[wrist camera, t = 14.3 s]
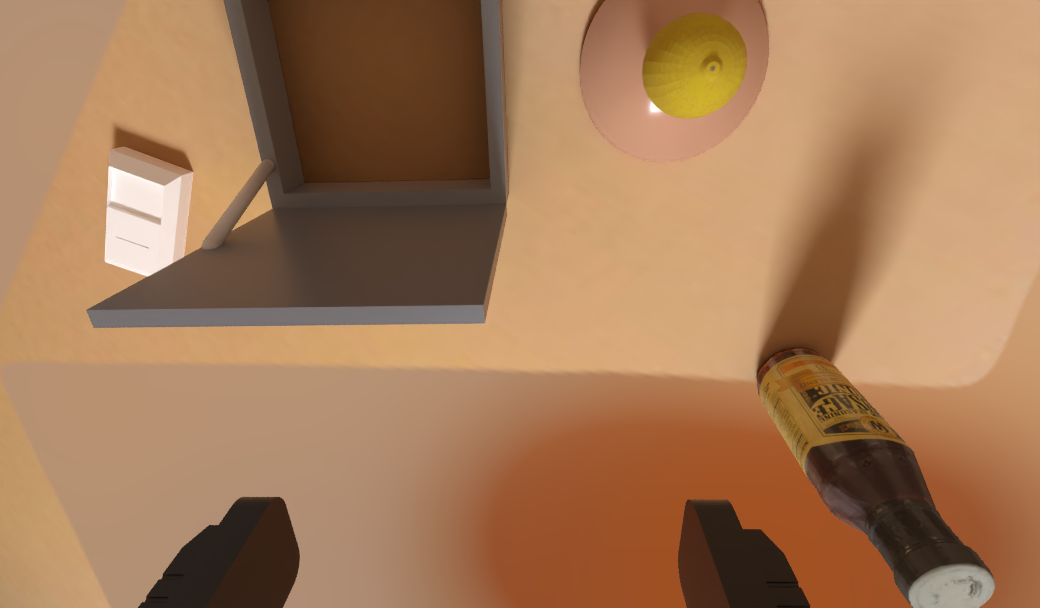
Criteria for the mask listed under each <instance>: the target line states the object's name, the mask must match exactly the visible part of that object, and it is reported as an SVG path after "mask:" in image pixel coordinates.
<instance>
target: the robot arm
mask: <svg viewBox="0 0 1040 608" xmlns="http://www.w3.org/2000/svg"><path fill="white" fill-rule="evenodd" d="M299 559H300V554H299V548H298V544H297V541H296V538H295V534H294V531H293V527H292V524H291V521H290V517H289V514H288V511H287V508H286V504H285V502H284V500H283V499H282V498H280V497H242V498H239V499H238V500H237V501H236V502H235V503H234V504H233V505H232V507H231V508H230V509H229V511H228V513H227V514H226V515H225V517H224V518H223V520H222V521H221V522H220V524H219V525H209V526H208V527H206V529H204V530H203V531H202V532H201V533H199V534H198V535H197V536H196V537H194V538H193V539H192V540H191V541H190V542H189V543H187V544H186V545H185V546H184V547H183V548H182V549H181V550H180V552H179V553H178V554H177V556H176V557H175V558H174V560H173V561H172V562H171V564H170V565H169V566H168V568H167V569H166V570H165V572H164V573H163V577H162V579H161V580H158V581H157V583H156V584H155V585H154V587H153V588H152V589H151V591H150V592H149V594H148V595H147V597H146V601H145V602H142V603H141V604H140V606H139V607H138V608H283V606H284V604H285V602H286V600H287V598H288V595H289V593H290V591H291V589H292V587H293V585H294V582H295V580H296V577H297V573H298V568H299ZM678 568H679V577H680V583H681V587H682V591H683V595H684V598H685V602H686V606H687V608H810V604H809V602H808V601H807V599H806V597H805V595H804V593H803V591H802V589H801V588H799V586H798V581H797V579H796V577H795V575H794V573H793V571H792V569H791V567H790V565H789V563H788V561H787V559H786V557H785V555H784V553H783V552H782V551H781V550H780V549H779V548H778V547H777V546H776V545H775V544H774V543H773V542H772V541H771V540H770V539H769V538H768V537H767V536H766V535H765V534H764V533H763V532H762V531H761V530H760V529H759V530H758V529H748V530H747V529H742V527H741V524H740V522H739V520H738V517H737V515H736V513H735V511H734V509H733V506H732V505H731V503H730V502H729V501H728V500H687V502H686V505H685V510H684V517H683V524H682V531H681V539H680V545H679V553H678Z"/></svg>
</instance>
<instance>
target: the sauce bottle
mask: <svg viewBox="0 0 1040 608" xmlns="http://www.w3.org/2000/svg"><path fill="white" fill-rule="evenodd" d="M757 388H758V393H759V396H760V398H761V401H762V403H763V404H764V406H765V408H766V410H767V411H768V413H769V415H770V416H771V418H772V420H773V421H774V423H775V425H776V426H777V428H778V430H779V431H780V433H781V434H782V436H783V438H784V439H785V441H786V443H787V444H788V446H789V448H790V449H791V451H792V453H793V454H794V456H795V458H796V459H797V461H798V463H799V464H800V466H801V468H802V469H803V471H804V473H805V474H806V476H807V478H808V479H809V480H810V482H811V483H812V484H813V485H814V486H815V488H816V489H817V491H818V492H819V494H820V496H821V498H822V500H823V502H824V503H825V504H826V506H827V507H828V508H829V510H830V512H831V513H833V514H834V515H835V516H836V517H838V518H839V519H840V520H841V521H843V522H845V523H846V524H848V525H850V526H852V527H853V528H856V529H858V530H860V531H862V532H864V533H865V534H867V535H868V538H869V540H870V541H871V542H872V544H873V545H874V546H875V547H876V548H877V549H878V550H879V552H880V553H881V555H882V556H883V558H884V559H885V561H886V562H887V564H888V565H889V567H890V568H891V570H892V571H893V573H894V579H895V583H896V585H897V586H898V588H899V590H900V591H901V593H902V594H903V595H904V597H905V598H906V599H907V601H908V602H909V604H910V605H911V606H912V607H913V608H979V607H980V606H982V605H983V604H984V603H985V602H986V601H987V600H988V599H989V598H990V597H991V596H992V594H993V591H994V588H995V581H994V578H993V576H992V573H991V572H990V570H989V568H988V567H987V566H986V565H985V564H984V562H983V561H982V560H981V559H980V557H979V556H978V554H977V553H976V552H974V551H973V550H972V549H971V548H969V547H968V546H965V545H964V544H963V543H962V542H961V541H960V540H959V538H958V537H957V536H956V535H955V534H954V533H953V532H952V530H951V529H950V528H949V526H947V525H946V523H945V522H944V521H943V519H942V518H941V516H940V514H939V513H938V511H937V510H936V508H935V505H934V503H933V500H932V498H931V495H930V493H929V490H928V488H927V485H926V482H925V480H924V477H923V475H922V472H921V470H920V467H919V465H918V463H917V460H916V457H915V455H914V452H913V451H912V450H911V448H910V447H909V446H908V445H907V444H906V443H905V441H904V440H903V439H902V438H901V437H900V436H899V435H898V434H897V433H896V432H895V431H894V430H893V429H892V428H891V427H890V425H889V424H888V423H887V422H886V421H885V420H884V419H883V417H882V416H881V415H880V414H879V413H878V412H877V411H876V410H875V409H874V408H873V407H872V406H871V405H870V403H869V402H868V401H867V400H866V399H865V398H864V397H863V396H862V395H861V394H860V393H859V391H858V390H857V389H856V388H855V387H854V386H853V385H852V384H851V383H850V382H849V381H848V380H847V378H846V377H845V376H844V375H843V374H842V373H841V372H840V371H839V370H838V369H837V368H836V366H835V365H834V364H832V363H831V362H830V361H828V360H827V359H825V358H824V357H822V356H821V355H819V354H818V353H817V352H815V351H813V350H809V349H806V348H804V349H801V348H798V349H791V350H787V351H781V352H778V353H776V354H775V355H773V356H772V357H771V358H770V359H769V361H767V362H766V363H765V364H764V365H763V366H762V367H761V369H760V371H759V373H758V378H757Z"/></svg>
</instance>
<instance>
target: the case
mask: <svg viewBox="0 0 1040 608" xmlns="http://www.w3.org/2000/svg"><path fill="white" fill-rule="evenodd" d="M224 4H225V8H226V12H227V17H228V21H229V25H230V29H231V34H232V38H233V42H234V46H235V51H236V55H237V59H238V63H239V68H240V72H241V76H242V80H243V85H244V89H245V93H246V97H247V102H248V106H249V110H250V114H251V119H252V123H253V127H254V131H255V136H256V140H257V144H258V148H259V153H260V157H261V161H262V162H261V163H260V165H259V166H258V168H257V169H256V170H255V172H254V173H253V174H252V176H251V177H250V178H249V180H248V181H247V183H246V184H245V185H244V187H243V188H242V189H241V191H240V192H239V193H238V195H237V196H236V197H235V199H234V200H233V202H232V203H231V204H230V206H229V207H228V208H227V210H226V211H225V212H224V214H223V215H222V217H221V218H220V219H219V221H218V222H217V223H216V225H215V226H214V227H213V229H212V230H211V231H210V233H209V234H208V236H207V237H206V238H205V240H204V241H203V242H202V248H200V249H198V250H196V251H194V252H192V253H190V254H189V255H187V256H185V257H183V258H181V259H179V260H178V261H176V262H174V263H172V264H170V265H168V266H167V267H165V268H163V269H161V270H159V271H157V272H155V273H154V274H152V275H150V276H148V277H146V278H144V279H143V280H141V281H139V282H137V283H135V284H133V285H132V286H130V287H128V288H126V289H124V290H122V291H121V292H119V293H117V294H115V295H113V296H111V297H109V298H108V299H106V300H104V301H102V302H100V303H98V304H97V305H95V306H93V307H91V308H89V309H87V310H86V311H87V313H88V315H89V318H90V320H91V322H92V325H93V327H94V328H120V327H208V326H296V325H384V324H471V323H485V319H486V314H487V309H488V305H489V300H490V295H491V290H492V285H493V280H494V275H495V271H496V266H497V261H498V256H499V251H500V246H501V241H502V236H503V232H504V227H505V222H506V217H507V208H506V203H507V199H508V194H509V180H508V153H507V127H506V101H505V74H504V48H503V22H502V0H481V16H482V35H483V54H484V73H485V91H486V110H487V129H488V148H489V167H490V179H463V180H419V181H375V182H331V183H305V180H304V175H303V170H302V165H301V160H300V156H299V151H298V146H297V141H296V136H295V131H294V126H293V121H292V116H291V111H290V107H289V102H288V97H287V92H286V87H285V82H284V77H283V72H282V67H281V62H280V57H279V53H278V48H277V43H276V38H275V33H274V28H273V23H272V18H271V13H270V8H269V4H268V0H224ZM265 181H266V182H267V187H268V191H269V195H270V199H271V204H272V208H273V209H271V210H270V211H268V212H266V213H264V214H262V215H260V216H259V217H257V218H255V219H253V220H251V221H249V222H248V223H246V224H244V225H242V226H240V227H238V228H236V229H235V230H233V231H231V230H232V229H233V227H234V226H235V225H236V223H237V222H238V220H239V219H240V217H241V216H242V214H243V213H244V211H245V210H246V209H247V207H248V206H249V204H250V203H251V201H252V200H253V198H254V197H255V196H256V194H257V193H258V191H259V190H260V188H261V187H262V185H263V184H264V182H265Z"/></svg>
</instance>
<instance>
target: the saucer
mask: <svg viewBox="0 0 1040 608" xmlns="http://www.w3.org/2000/svg"><path fill="white" fill-rule="evenodd" d="M693 13H709V14H713V15H718V16H720V17H722V18H723V19H725V20H727V21H729V22H730V23H731V24H732V25H733V26H734V27H735V28H736V29H737V30H738V31H739V32H740V34H741V37H742V39H743V41H744V43H745V46H746V51H747V69H746V72H745V76H744V79H743V82H742V84H741V85H740V87H739V89H738V91H737V92H736V94H735V95H734V96H733V97H732V98H731V99H730V101H729V102H728V103H726V104H725V105H724V106H723V107H721V108H720V109H719V110H717V111H715V112H713V113H711V114H708V115H706V116H703V117H698V118H693V119H684V118H676V117H673V116H670V115H668V114H665V113H664V112H663V111H661V110H660V109H658V108H657V107H656V106H655V105H654V104H653V102H652V101H651V100H650V99H649V97H648V95H647V93H646V91H645V88H644V85H643V78H642V67H643V60H644V57H645V54H646V51H647V48H648V47H649V45H650V43H651V41H652V40H653V38H654V37H655V36H656V35H657V33H658V32H659V31H660V30H661V29H662V28H663V27H664V26H666V25H667V24H669V23H670V22H672V21H673V20H675V19H676V18H679V17H682V16H685V15H688V14H693ZM768 56H769V36H768V30H767V24H766V20H765V17H764V13H763V10H762V8H761V6H760V4H759V2H758V0H605V1H604V2H603V4H602V5H601V6H600V8H599V9H598V11H597V13H596V14H595V16H594V18H593V20H592V22H591V24H590V26H589V29H588V31H587V34H586V37H585V40H584V43H583V48H582V53H581V60H580V85H581V91H582V96H583V100H584V103H585V106H586V109H587V111H588V113H589V115H590V118H591V119H592V121H593V123H594V124H595V126H596V127H597V129H598V130H599V131H600V132H601V134H602V135H603V136H604V137H605V138H606V139H607V140H608V141H609V142H610V143H611V144H613V145H614V146H615V147H617V148H618V149H620V150H621V151H623V152H625V153H627V154H629V155H631V156H633V157H636V158H639V159H642V160H648V161H653V162H672V161H679V160H684V159H688V158H691V157H694V156H696V155H699V154H701V153H703V152H705V151H707V150H709V149H711V148H713V147H714V146H716V145H717V144H719V143H720V142H722V141H723V140H724V139H725V138H726V137H728V136H729V135H730V134H731V133H732V132H733V131H734V130H735V129H736V128H737V127H738V126H739V125H740V123H741V122H742V121H743V120H744V118H745V117H746V116H747V114H748V113H749V111H750V110H751V108H752V106H753V105H754V103H755V101H756V99H757V97H758V95H759V92H760V90H761V87H762V84H763V81H764V79H765V74H766V70H767V65H768Z"/></svg>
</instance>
